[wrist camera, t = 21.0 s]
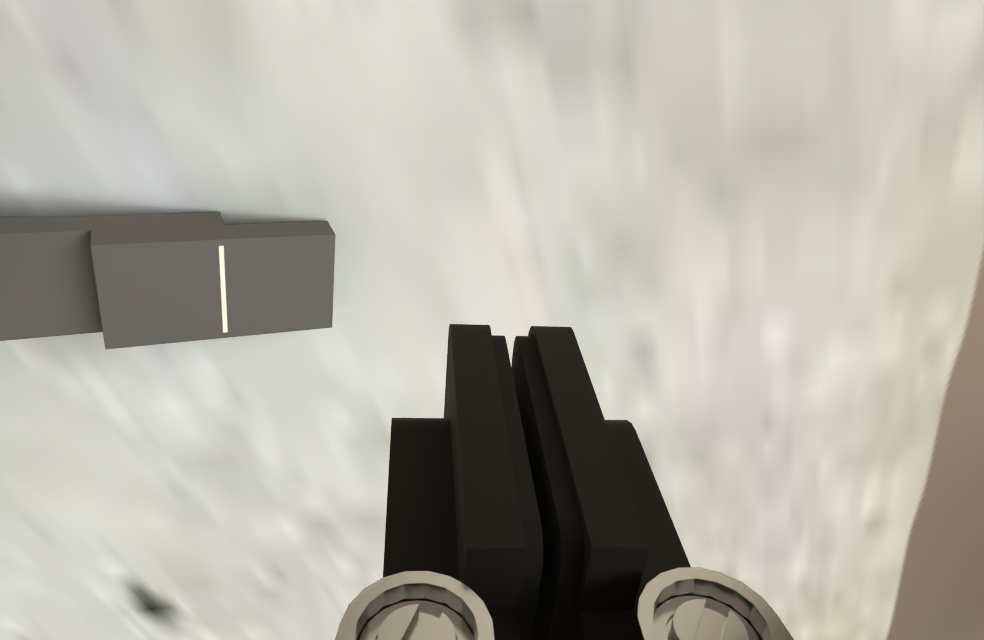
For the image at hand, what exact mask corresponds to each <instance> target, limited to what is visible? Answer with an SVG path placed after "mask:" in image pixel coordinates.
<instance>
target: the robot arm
mask: <svg viewBox="0 0 984 640" xmlns="http://www.w3.org/2000/svg"><path fill="white" fill-rule="evenodd" d="M335 640H794V639H793V637H792V636H791V634H790V633H789V631H788V630H787V628H786V627H785V625H784V624H783V623H782V621H781V620H780V618H779V617H778V615H777V614H776V613H775V611H774V610H773V609H772V608H771V607H770V606H769V604H768V603H767V602H766V601H765V600H764V599H763V598H762V597H761V596H760V595H759V594H757V593H756V592H755V591H753V590H752V589H751V588H749V587H748V586H747V585H745V584H744V583H743V582H740V581H738V580H736V579H734V578H732V577H730V576H728V575H726V574H723V573H721V572H717V571H713V570H708V569H704V568H700V567H692V568H691V567H690V564H689V562H688V559H687V557H686V554H685V552H684V549H683V547H682V544H681V542H680V539H679V537H678V534H677V532H676V529H675V527H674V524H673V522H672V519H671V517H670V515H669V512H668V510H667V507H666V505H665V502H664V500H663V497H662V495H661V492H660V490H659V487H658V485H657V482H656V480H655V477H654V475H653V472H652V470H651V467H650V465H649V463H648V460H647V458H646V455H645V453H644V450H643V448H642V445H641V443H640V440H639V438H638V435H637V433H636V430H635V429H634V427H633V425H632V423H631V422H629V421H627V420H604V417H603V414H602V411H601V408H600V405H599V403H598V400H597V397H596V394H595V391H594V388H593V386H592V383H591V380H590V377H589V374H588V371H587V369H586V366H585V363H584V360H583V357H582V354H581V352H580V349H579V346H578V343H577V340H576V337H575V335H574V332H573V330H572V328H571V327H545V326H531V328H530V331H529V334H528V336H516V338H515V341H514V348H513V357H512V367H511V365H510V359H509V354H508V349H507V344H506V339H505V336H492V335H491V329H490V326H489V325H463V324H450V326H449V336H448V353H447V371H446V389H445V406H444V418H392V424H391V441H390V459H389V478H388V496H387V515H386V533H385V552H384V570H383V578H382V579H380V580H378V581H377V582H375V583H373V584H371V585H370V586H368V587H366V588H365V589H363V591H362V592H361V593H360V594H359V595H358V596H357V597H356V598H355V599H354V600H353V601H352V602H351V603H350V604H349V606H348V608H347V610H346V612H345V614H344V616H343V618H342V620H341V622H340V625H339V628H338V632H337V635H336V639H335Z"/></svg>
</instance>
